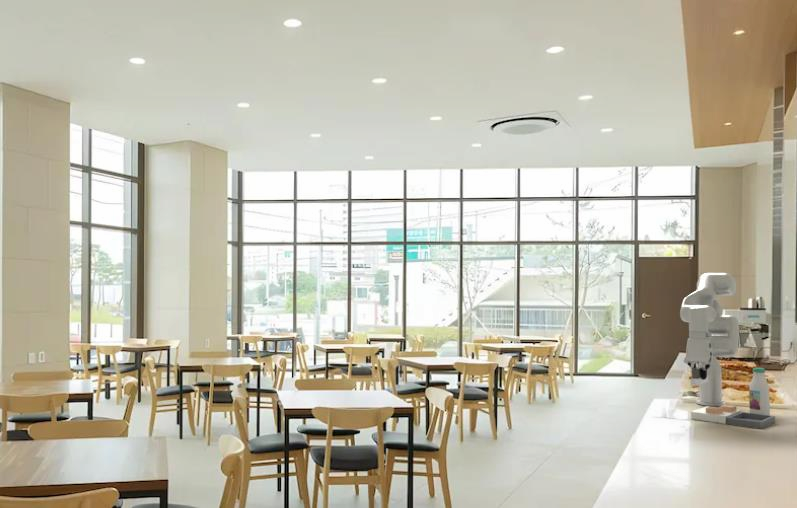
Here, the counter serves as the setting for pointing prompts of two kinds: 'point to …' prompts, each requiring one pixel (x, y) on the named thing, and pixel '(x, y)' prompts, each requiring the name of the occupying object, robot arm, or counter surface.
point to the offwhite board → (711, 415)
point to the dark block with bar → (697, 376)
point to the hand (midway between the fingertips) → (699, 378)
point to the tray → (751, 420)
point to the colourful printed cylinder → (759, 393)
